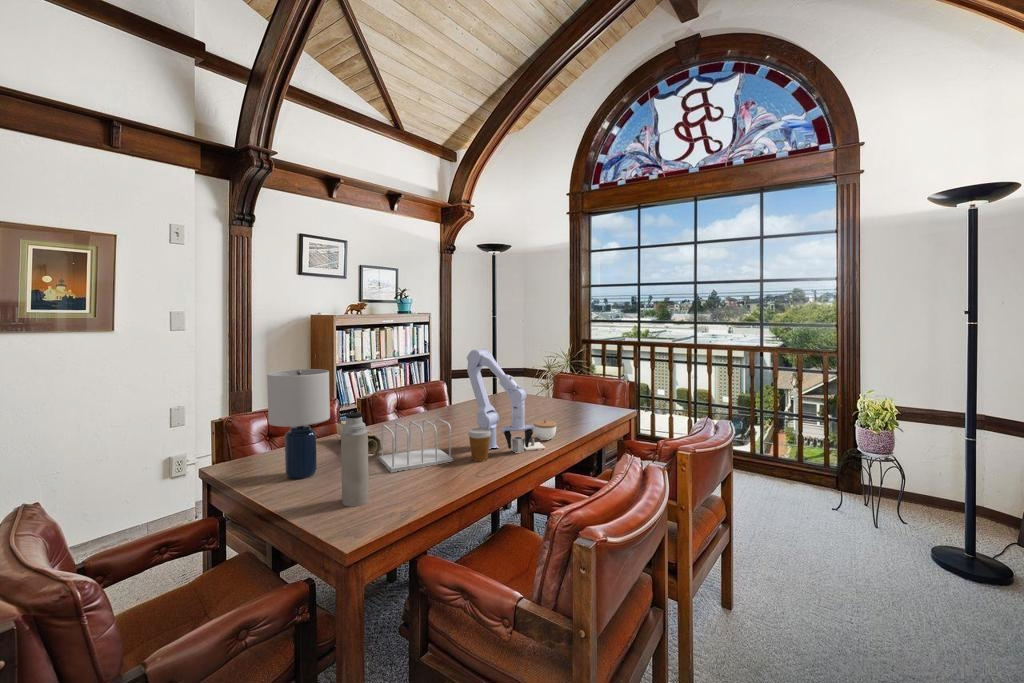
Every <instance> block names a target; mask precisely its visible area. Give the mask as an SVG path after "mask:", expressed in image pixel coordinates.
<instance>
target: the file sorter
mask: <svg viewBox="0 0 1024 683" xmlns="http://www.w3.org/2000/svg"><path fill="white" fill-rule="evenodd" d="M438 421H441V423H444V424H446V425H447V426H448V429H449V430H448V431H449V435H448V436H449V438H448V440H449V441H448V442H449V443H448V453H446V452H444V451H443V450H441V448H439V447H438V430H437V429H438V427H437V426H438ZM425 423H427V424H429V425H430V426H432V427H433V428H434V432H435V433H434V435H435V436H434V439H435V440H434V447H430V448H425V435H424V434H425ZM411 425H414V426H416V427H418V428H419V429H420V434H421V449H417V450H411V449H412V448H411V445H412V444H411V441H412V440H411V439H412V437H411V436H412V435H411V433H412V432H411V428H412V426H411ZM397 426H399V427H401V428H402V429H403V430H405V431H406V433H407V434H406V437H407V440H406V441H407V443H406V444H407V445H406V446H407V448H406V449H407V451H402V452H398V443H397V442H398V441H397V438H398V435H397ZM384 428H385V429H386V430H387V431H388V432H390V433H391V437H392V438H391V439H392V441H391V443H392V445H391V447H392V448H391V449H392V450H391V452H392V453H390V454H384ZM381 448H382V449H381V455H379V456H378V457H379V458H378V459H379V461H380V462H381V464H383V465H384V467H385V468H386V469H387V470H388V472H390V473H392V472H393V473H398V472H397V471H399V472H403V471H402V470H405V471H409V470H408V469H411V470H414V469H413V468H417V469H420V468H419V467H423V468H426V467H425V466H429V465H435V466H437V465H436V464H441V463H446V462H451V461H453V462H454V458H453V457H451V456H452V453H451V452H452V426H451V424H450V423H449V422H447V421H445V420H444V419H442V418H440V417H436V419H435V423H434V424H433V423H432V422H430V421H428V420H426V419H423V420H422V425H420V424H418V423H416V422H414V421H412V420H411V421H409V424H408V428H407V427H405V426H404V425H402V424H400V423H398V422H395V424H394V432H393V430H392V429H390V428H389V427H388V426H387V425H386V424H382V425H381ZM446 464H447V463H446ZM441 465H442V464H441ZM429 467H430V466H429ZM393 473H392V474H393Z"/></svg>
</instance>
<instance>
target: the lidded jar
mask: <svg viewBox="0 0 1024 683" xmlns="http://www.w3.org/2000/svg"><path fill="white" fill-rule="evenodd" d="M533 425H534V426H535V430H533V432H534V434H535V436H536V438H537V439H538V440H539V439H551V438H552V439H553V438H555V435H556V432H557V422H556V421H552V420H547V419H544V420H537V421H534V422H533ZM552 439H551V440H552Z"/></svg>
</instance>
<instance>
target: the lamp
mask: <svg viewBox="0 0 1024 683" xmlns="http://www.w3.org/2000/svg"><path fill="white" fill-rule="evenodd" d="M266 379H267V381H266V383H267V384H266V385H267V386H266V387H267V388H266V389H267V413H268V414H267V418H268V420H267V422H268V425H269V426H274V427H279V428H280V427H282V428H285V427H286V428H289V427H290V428H289V430H288V431H287V432H286V433H285V434H284V453H285V454H284V455H285V456H284V459H285V462H284V465H285V474H286V476H287V477H288V479H292V480H301V479H307V478H310V477H312V476H314V475H315V474H316V472H317V468H318V466H317V463H318V462H317V437H316V436H317V434H316V431H315V430H314V429H312V428H311V426H312V425H317V424H320V423H324V422H326V421H329V419H331V406H330V405H331V403H330V371H329V370H328V369H321V368H316V369H315V368H302V369H301V368H300V369H286V370H276V371H272V372H271V371H270V372H268V373H267V374H266ZM310 425H311V426H310Z"/></svg>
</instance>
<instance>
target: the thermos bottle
mask: <svg viewBox="0 0 1024 683" xmlns="http://www.w3.org/2000/svg"><path fill="white" fill-rule="evenodd" d="M345 421H346V423H345V424H344V425H343V424H342V425H343V431H342V432H341V435H340V439H341V440H340V445H341V446H340V451H341V452H340V455H341V457H340V459H341V460H340V461H341V500H342V501H341V503H342V505H343V506H345V507H359V506H362V505H365V504H367V503H369V501H370V490H369V488H370V487H369V484H370V483H369V457H368V432H369V431H368V429H366V423H365V422H363V413H361V412H351V413H347V414H345Z"/></svg>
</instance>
